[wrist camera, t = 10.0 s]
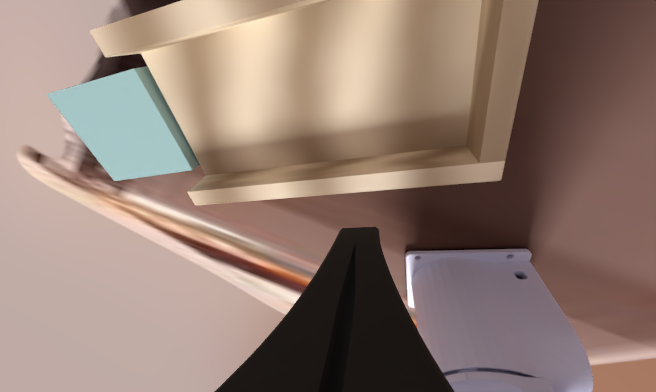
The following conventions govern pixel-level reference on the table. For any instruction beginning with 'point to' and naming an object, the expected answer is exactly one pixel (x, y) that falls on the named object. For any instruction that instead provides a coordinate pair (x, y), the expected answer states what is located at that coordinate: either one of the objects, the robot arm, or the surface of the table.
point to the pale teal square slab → (127, 125)
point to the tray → (335, 90)
